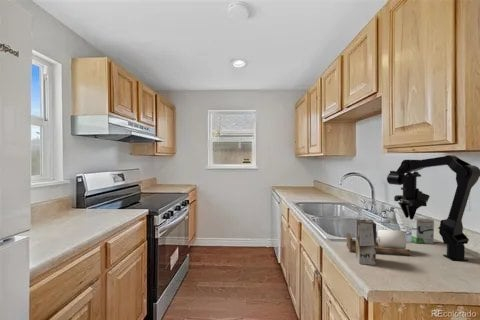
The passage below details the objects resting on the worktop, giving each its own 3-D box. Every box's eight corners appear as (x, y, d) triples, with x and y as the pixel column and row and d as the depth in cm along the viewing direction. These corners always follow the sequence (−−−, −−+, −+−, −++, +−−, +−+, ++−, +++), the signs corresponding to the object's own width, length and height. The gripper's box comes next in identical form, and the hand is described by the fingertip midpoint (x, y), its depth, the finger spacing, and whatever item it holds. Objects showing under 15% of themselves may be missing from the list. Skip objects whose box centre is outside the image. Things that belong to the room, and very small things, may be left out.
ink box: (416, 243, 151) (416, 219, 151) (411, 240, 156) (411, 217, 156) (434, 243, 151) (434, 219, 151) (428, 241, 156) (428, 217, 155)
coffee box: (376, 265, 120) (376, 223, 120) (358, 264, 121) (359, 223, 121) (371, 257, 129) (371, 219, 129) (355, 256, 130) (355, 218, 130)
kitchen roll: (401, 246, 141) (401, 229, 141) (406, 251, 133) (406, 233, 133) (376, 245, 143) (377, 227, 143) (381, 250, 135) (381, 232, 135)
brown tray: (402, 248, 142) (402, 235, 142) (409, 256, 131) (410, 242, 131) (346, 245, 147) (346, 232, 147) (349, 252, 136) (350, 238, 136)
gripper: (438, 187, 137) (438, 222, 137) (416, 184, 156) (416, 215, 156) (413, 187, 137) (413, 222, 138) (393, 184, 156) (393, 214, 156)
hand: (409, 218), depth 147 cm, fingers open, 4 cm apart
